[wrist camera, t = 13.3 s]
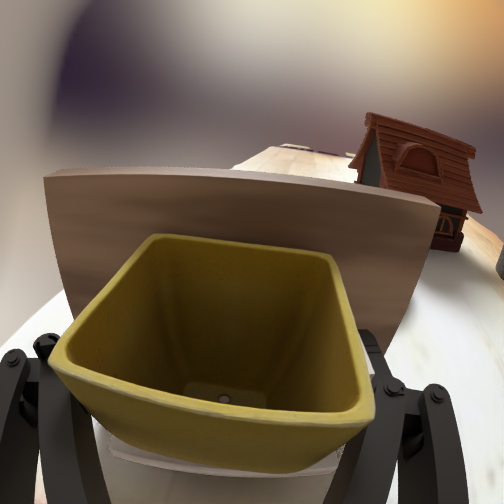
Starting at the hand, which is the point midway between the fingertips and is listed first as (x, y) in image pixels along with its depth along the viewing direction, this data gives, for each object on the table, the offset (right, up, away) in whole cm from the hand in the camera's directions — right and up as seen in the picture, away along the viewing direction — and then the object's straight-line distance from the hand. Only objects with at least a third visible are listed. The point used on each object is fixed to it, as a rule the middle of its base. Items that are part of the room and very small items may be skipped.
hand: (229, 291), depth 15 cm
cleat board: (-1, -13, +7) cm, 14 cm away
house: (+43, +7, +55) cm, 70 cm away
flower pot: (-1, -8, -1) cm, 8 cm away
